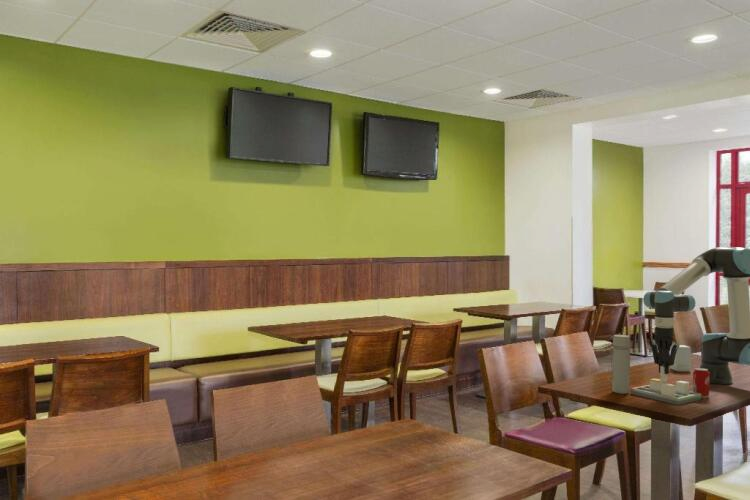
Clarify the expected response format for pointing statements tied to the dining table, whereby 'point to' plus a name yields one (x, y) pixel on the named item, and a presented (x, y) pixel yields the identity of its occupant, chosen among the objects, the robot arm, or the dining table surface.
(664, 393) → the block
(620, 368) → the water bottle
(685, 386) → the block
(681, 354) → the supplement box
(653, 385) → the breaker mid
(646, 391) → the panel
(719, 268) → the robot arm
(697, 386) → the beverage can
